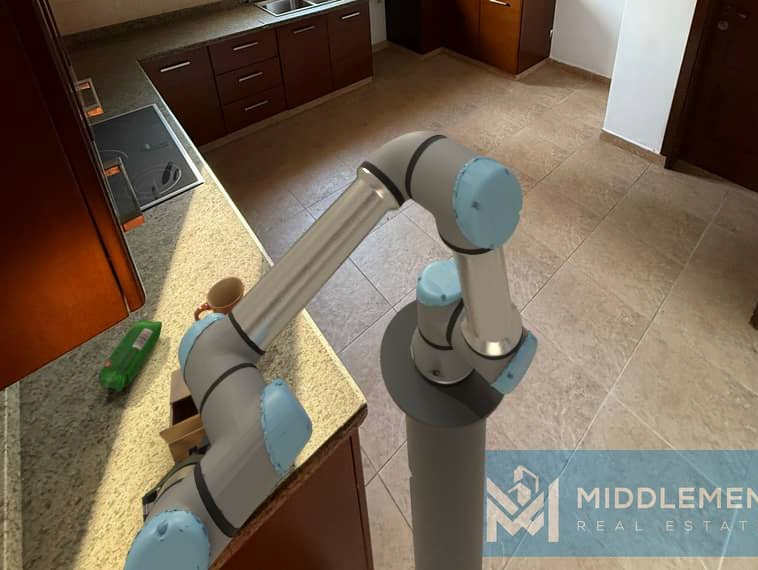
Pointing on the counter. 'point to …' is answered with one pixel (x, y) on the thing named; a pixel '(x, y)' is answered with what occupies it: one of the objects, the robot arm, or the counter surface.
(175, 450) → the carton
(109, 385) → the snack package
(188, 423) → the flap
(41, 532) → the counter surface
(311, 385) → the counter surface
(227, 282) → the mug
